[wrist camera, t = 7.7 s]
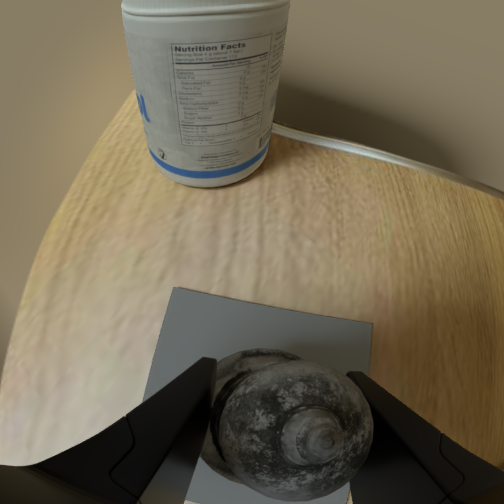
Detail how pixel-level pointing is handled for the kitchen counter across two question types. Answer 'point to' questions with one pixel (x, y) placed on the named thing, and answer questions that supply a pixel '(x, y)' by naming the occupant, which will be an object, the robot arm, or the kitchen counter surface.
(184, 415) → the robot arm
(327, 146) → the kitchen counter surface
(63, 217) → the kitchen counter surface
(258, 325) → the slate mat
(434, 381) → the kitchen counter surface
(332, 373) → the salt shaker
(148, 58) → the supplement tub
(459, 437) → the kitchen counter surface
